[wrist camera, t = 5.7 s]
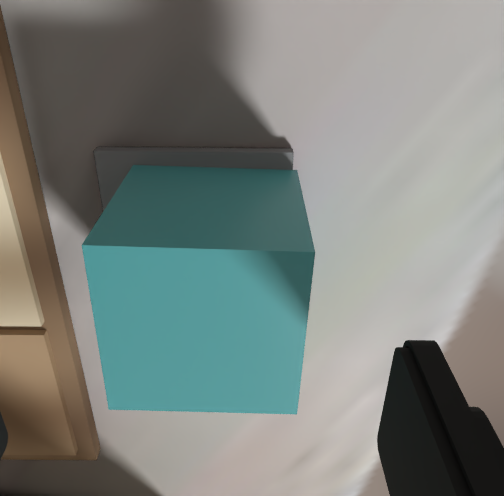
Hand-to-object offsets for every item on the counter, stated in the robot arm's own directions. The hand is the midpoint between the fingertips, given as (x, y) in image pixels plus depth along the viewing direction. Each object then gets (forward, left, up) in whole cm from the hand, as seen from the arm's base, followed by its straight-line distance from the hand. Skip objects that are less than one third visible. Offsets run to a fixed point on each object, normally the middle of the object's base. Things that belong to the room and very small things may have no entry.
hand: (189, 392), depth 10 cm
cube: (0, 0, -7) cm, 7 cm away
